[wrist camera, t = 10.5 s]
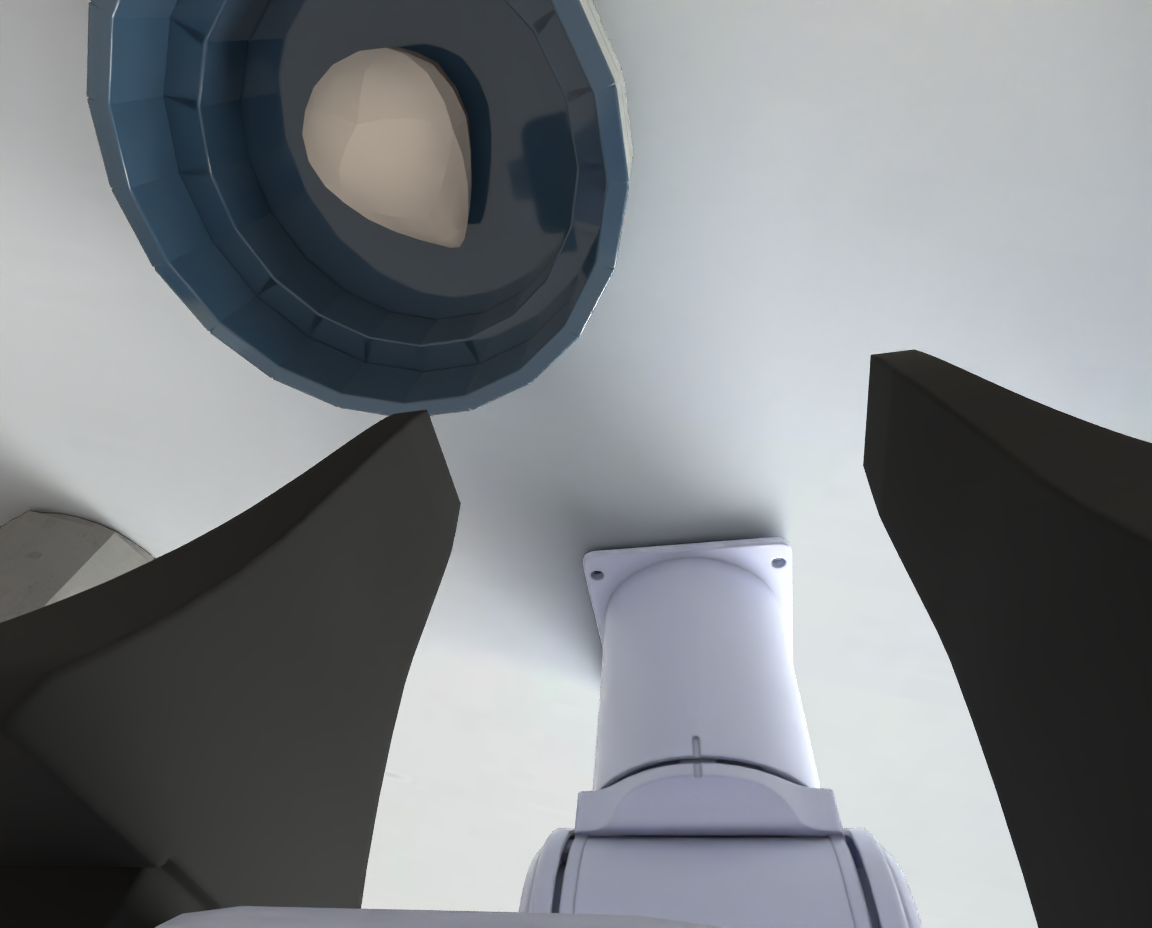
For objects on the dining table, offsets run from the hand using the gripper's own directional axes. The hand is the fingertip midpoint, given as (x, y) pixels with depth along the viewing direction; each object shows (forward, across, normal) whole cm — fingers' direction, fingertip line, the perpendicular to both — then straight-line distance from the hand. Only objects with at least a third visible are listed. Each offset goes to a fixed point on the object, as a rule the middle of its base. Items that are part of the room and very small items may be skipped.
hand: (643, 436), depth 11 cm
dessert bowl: (+10, +6, -4) cm, 13 cm away
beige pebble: (+10, +6, -4) cm, 12 cm away
